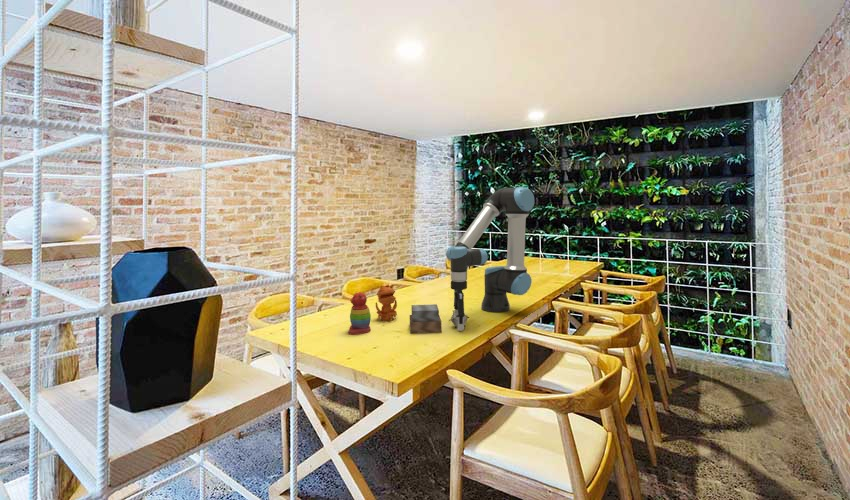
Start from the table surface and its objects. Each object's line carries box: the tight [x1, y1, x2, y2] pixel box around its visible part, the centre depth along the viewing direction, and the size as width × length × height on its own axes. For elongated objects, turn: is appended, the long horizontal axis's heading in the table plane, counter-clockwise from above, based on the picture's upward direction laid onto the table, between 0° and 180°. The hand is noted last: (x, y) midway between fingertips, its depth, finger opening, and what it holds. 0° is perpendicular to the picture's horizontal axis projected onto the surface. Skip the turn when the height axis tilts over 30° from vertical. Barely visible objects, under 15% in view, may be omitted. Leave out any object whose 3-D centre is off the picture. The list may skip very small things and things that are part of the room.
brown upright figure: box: [375, 284, 398, 322], centre depth 217 cm, size 11×11×18 cm
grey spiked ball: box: [448, 310, 470, 329], centre depth 203 cm, size 9×8×10 cm
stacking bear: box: [347, 291, 372, 336], centre depth 199 cm, size 11×10×18 cm
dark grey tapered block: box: [409, 303, 442, 334], centre depth 201 cm, size 14×13×10 cm
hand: (458, 326), depth 203 cm, fingers open, 11 cm apart
